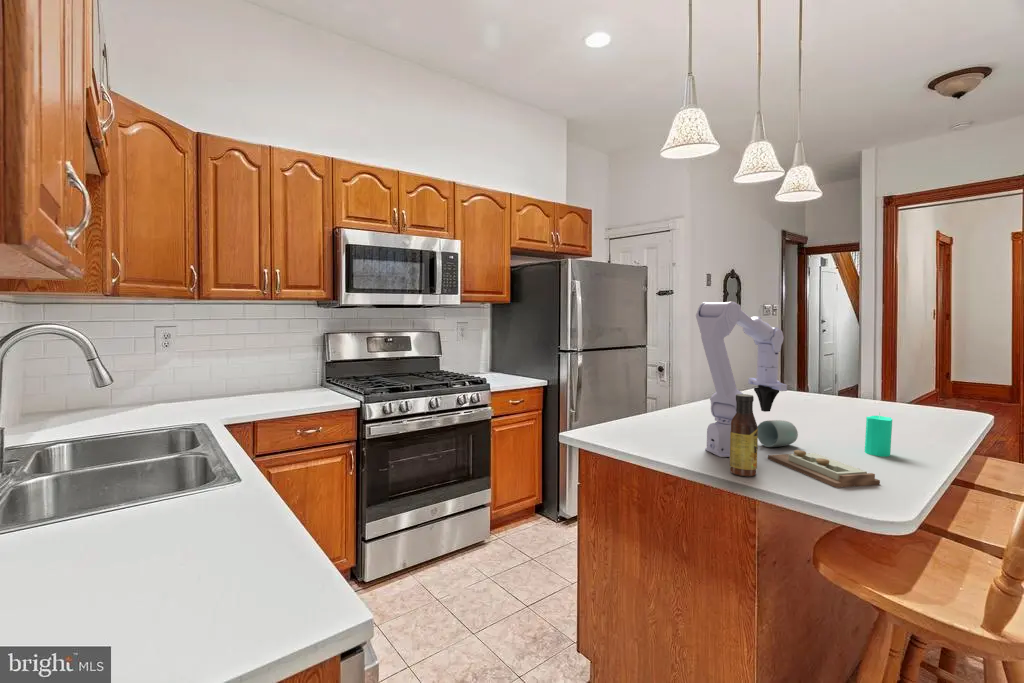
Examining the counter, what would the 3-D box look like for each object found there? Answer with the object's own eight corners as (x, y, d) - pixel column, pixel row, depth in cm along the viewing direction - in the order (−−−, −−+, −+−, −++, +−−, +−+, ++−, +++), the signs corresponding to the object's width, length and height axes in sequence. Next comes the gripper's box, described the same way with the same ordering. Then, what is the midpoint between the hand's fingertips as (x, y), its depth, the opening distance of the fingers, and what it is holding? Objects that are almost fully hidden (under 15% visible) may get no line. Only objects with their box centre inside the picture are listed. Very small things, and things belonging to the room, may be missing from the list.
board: (836, 487, 117) (837, 472, 117) (767, 458, 139) (768, 445, 139) (879, 484, 119) (880, 469, 119) (805, 456, 142) (805, 443, 141)
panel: (837, 480, 119) (838, 473, 119) (788, 460, 134) (788, 454, 134) (866, 478, 120) (866, 471, 120) (814, 458, 136) (814, 452, 136)
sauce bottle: (759, 478, 123) (762, 397, 122) (732, 476, 124) (735, 396, 123) (752, 470, 129) (755, 393, 128) (726, 468, 130) (729, 392, 129)
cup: (795, 416, 153) (771, 416, 149) (806, 440, 150) (782, 442, 146) (775, 425, 159) (752, 426, 155) (785, 448, 156) (762, 450, 152)
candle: (881, 451, 148) (884, 410, 147) (895, 457, 142) (897, 414, 141) (860, 450, 148) (862, 410, 148) (872, 456, 142) (874, 414, 142)
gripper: (796, 369, 146) (794, 415, 147) (762, 363, 160) (761, 406, 161) (775, 369, 145) (773, 416, 145) (743, 364, 159) (741, 406, 160)
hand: (765, 411), depth 153 cm, fingers closed
